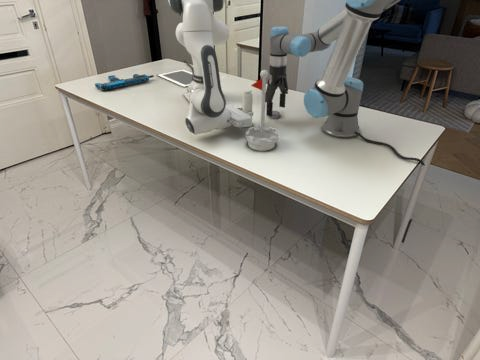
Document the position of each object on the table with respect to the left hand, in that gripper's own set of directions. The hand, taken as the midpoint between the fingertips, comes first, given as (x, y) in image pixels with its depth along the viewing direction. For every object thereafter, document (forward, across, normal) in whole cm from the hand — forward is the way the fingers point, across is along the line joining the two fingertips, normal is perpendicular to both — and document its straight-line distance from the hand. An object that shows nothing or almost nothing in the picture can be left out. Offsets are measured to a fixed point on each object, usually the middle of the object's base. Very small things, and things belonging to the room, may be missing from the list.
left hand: (248, 111), depth 152 cm
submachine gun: (-29, +94, +6) cm, 99 cm away
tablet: (+6, +83, +6) cm, 83 cm away
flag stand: (-7, -20, +6) cm, 22 cm away
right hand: (+16, 0, +4) cm, 16 cm away
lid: (+16, +1, +5) cm, 16 cm away
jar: (-1, 0, +6) cm, 7 cm away
